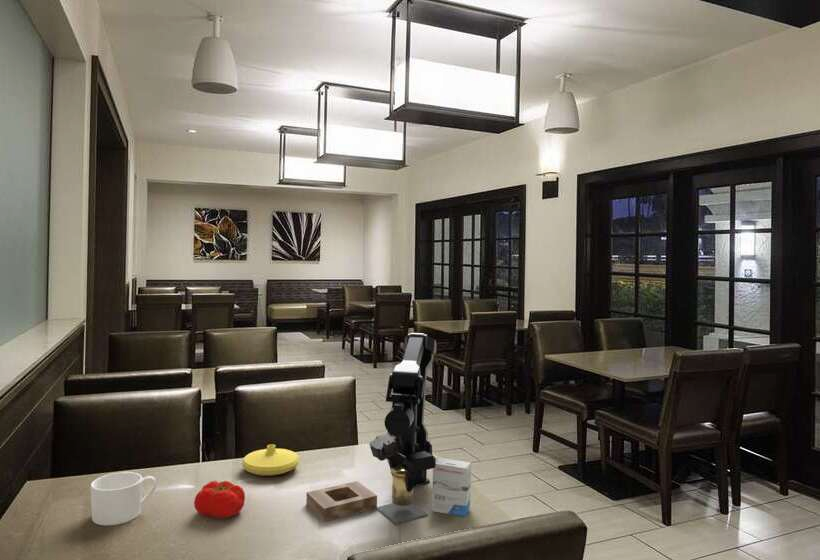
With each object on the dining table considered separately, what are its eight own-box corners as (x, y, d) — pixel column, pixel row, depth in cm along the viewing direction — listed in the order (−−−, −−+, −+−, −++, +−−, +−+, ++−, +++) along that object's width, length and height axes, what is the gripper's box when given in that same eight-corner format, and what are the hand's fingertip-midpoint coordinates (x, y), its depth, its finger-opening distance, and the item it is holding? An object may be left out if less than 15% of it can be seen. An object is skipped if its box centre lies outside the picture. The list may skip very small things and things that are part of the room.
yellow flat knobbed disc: (255, 458, 166) (256, 434, 166) (306, 462, 164) (307, 439, 163) (231, 478, 150) (231, 453, 150) (287, 484, 148) (288, 458, 148)
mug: (89, 530, 121) (89, 493, 120) (91, 510, 130) (91, 475, 130) (157, 518, 127) (157, 483, 127) (154, 500, 136) (155, 467, 136)
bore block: (357, 492, 144) (357, 481, 144) (376, 507, 136) (377, 495, 136) (306, 504, 136) (306, 492, 136) (323, 521, 128) (324, 508, 128)
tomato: (227, 526, 124) (228, 497, 124) (186, 518, 128) (186, 490, 127) (252, 508, 134) (252, 481, 133) (213, 500, 137) (213, 474, 137)
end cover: (385, 499, 135) (386, 467, 134) (405, 493, 138) (406, 462, 138) (398, 509, 130) (399, 476, 129) (419, 503, 133) (420, 471, 133)
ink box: (470, 509, 137) (472, 461, 136) (465, 517, 132) (467, 468, 132) (436, 502, 139) (438, 456, 139) (431, 511, 135) (432, 463, 134)
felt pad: (407, 500, 140) (407, 499, 140) (427, 515, 133) (427, 513, 133) (375, 508, 135) (376, 507, 135) (395, 524, 128) (395, 522, 128)
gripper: (355, 416, 136) (354, 479, 137) (396, 439, 121) (394, 510, 121) (394, 410, 142) (392, 471, 143) (438, 431, 127) (436, 498, 128)
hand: (402, 486), depth 134 cm, fingers closed on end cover, 5 cm apart
